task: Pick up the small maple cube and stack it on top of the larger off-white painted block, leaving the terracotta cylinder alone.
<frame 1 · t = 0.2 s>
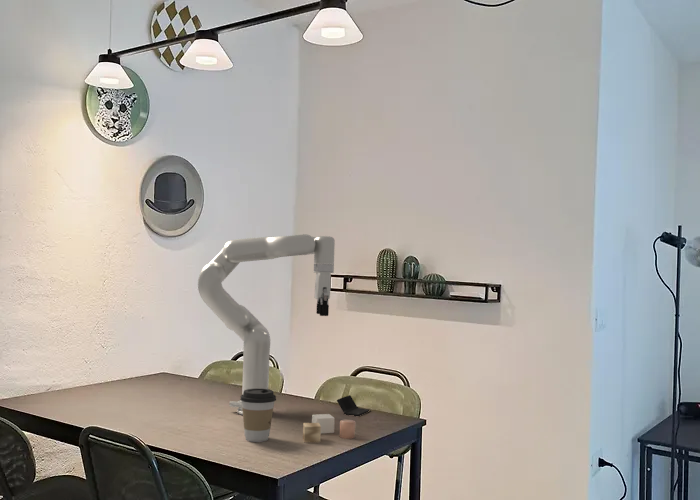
hand: (322, 314, 256), 37 cm above the table, tool pointing down, fingers open, 9 cm apart
white block: (322, 431, 227), on the table
terracotta cylinder: (347, 436, 221), on the table
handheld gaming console: (353, 413, 257), on the table
maple cube: (311, 440, 215), on the table
coffee cup: (256, 439, 214), on the table
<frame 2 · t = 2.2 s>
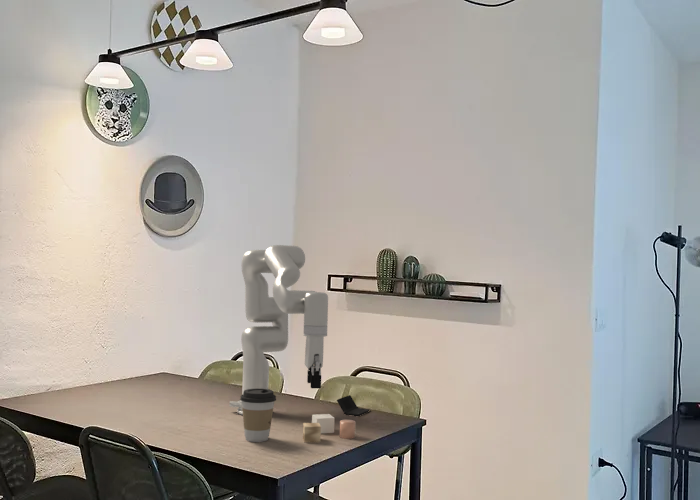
hand: (313, 385, 216), 17 cm above the table, tool pointing down, fingers open, 9 cm apart
nothing on the table moved.
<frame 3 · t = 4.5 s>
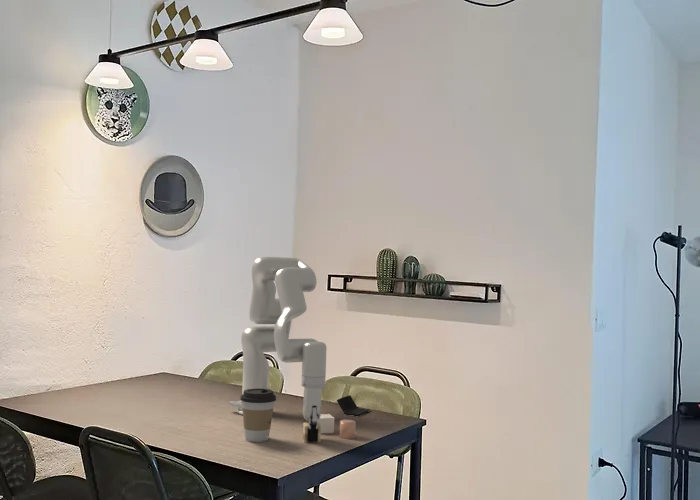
hand: (311, 438, 215), 0 cm above the table, tool pointing down, fingers closed on maple cube, 5 cm apart
maple cube: (311, 440, 215), on the table, touching gripper
everything else where it was.
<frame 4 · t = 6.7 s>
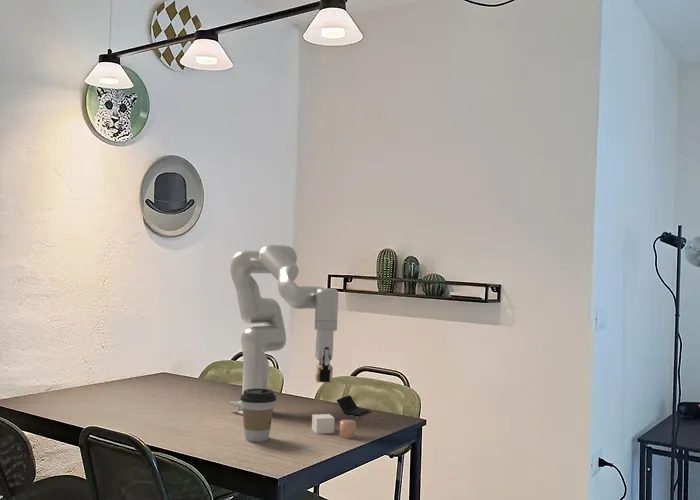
hand: (323, 379, 228), 17 cm above the table, tool pointing down, fingers closed on maple cube, 5 cm apart
maple cube: (323, 381, 228), point 17 cm above the table, touching gripper
everything else where it was.
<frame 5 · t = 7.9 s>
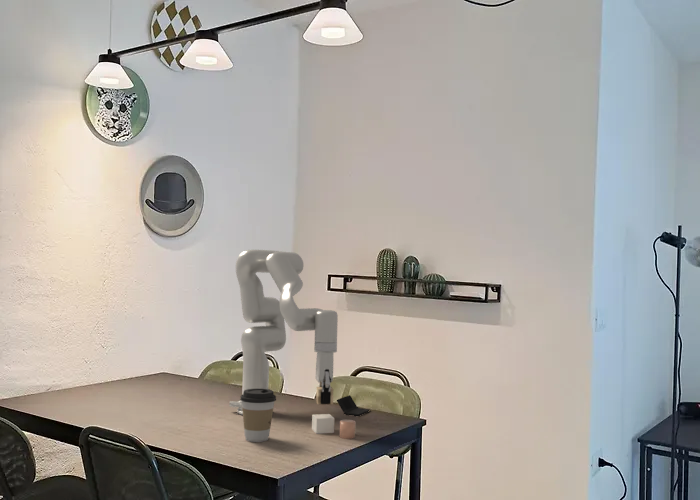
hand: (324, 401, 227), 10 cm above the table, tool pointing down, fingers closed on maple cube, 5 cm apart
maple cube: (324, 403, 227), point 9 cm above the table, touching gripper
everything else where it was.
when the fingers open (6 cm above the table, at t = 8.8 s): maple cube stays where it is, resting on white block.
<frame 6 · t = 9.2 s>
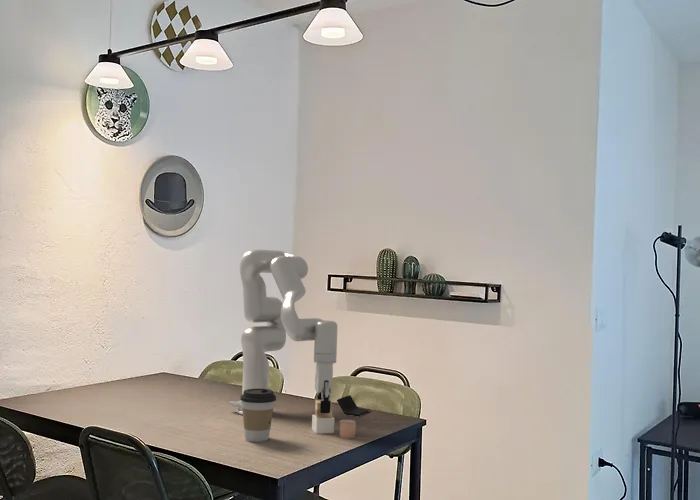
hand: (323, 409, 228), 7 cm above the table, tool pointing down, fingers open, 8 cm apart
white block: (322, 431, 227), on the table, touching maple cube
maple cube: (323, 416, 227), point 5 cm above the table, touching white block
everything else where it was.
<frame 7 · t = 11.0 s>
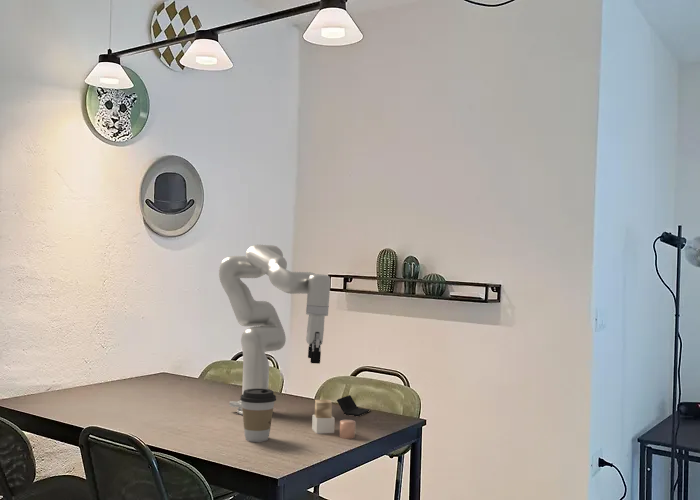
hand: (313, 360, 233), 23 cm above the table, tool pointing down, fingers open, 9 cm apart
nothing on the table moved.
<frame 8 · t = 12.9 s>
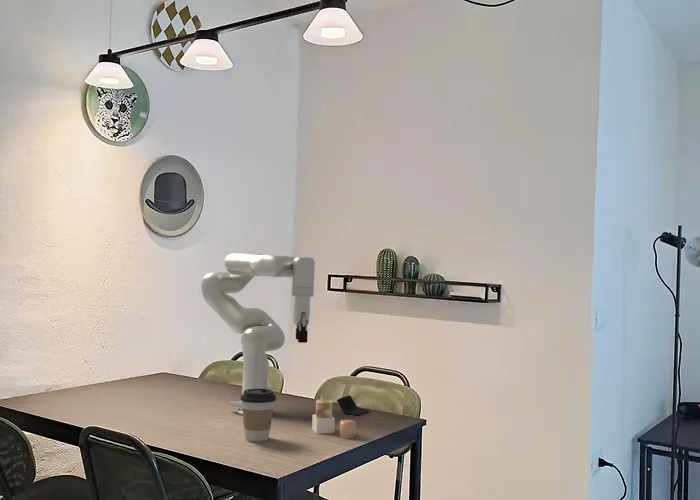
hand: (301, 340, 240), 28 cm above the table, tool pointing down, fingers open, 9 cm apart
nothing on the table moved.
at the end: maple cube 0.2 cm off-centre on the white block, point 5.0 cm above the white block's base; maple cube tilted 0°; the gripper is holding nothing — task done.
